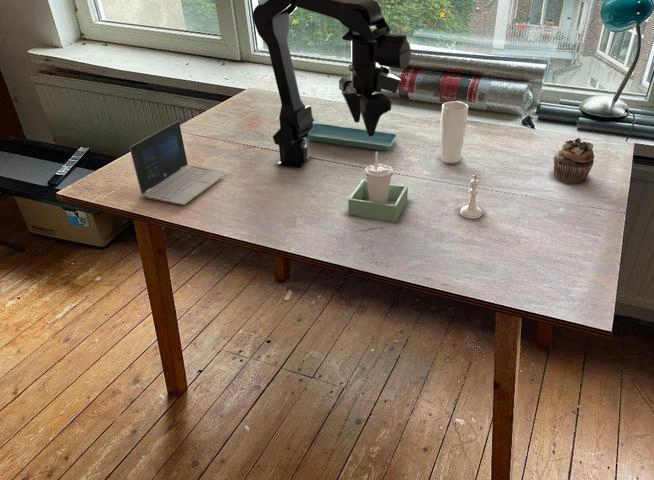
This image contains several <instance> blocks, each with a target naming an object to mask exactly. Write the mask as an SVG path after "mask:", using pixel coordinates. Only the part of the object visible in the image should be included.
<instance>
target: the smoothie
mask: <svg viewBox="0 0 654 480" xmlns="http://www.w3.org/2000/svg"><path fill="white" fill-rule="evenodd" d="M374 157H375V159H374V164H370V165H368V166H366V167H365V169H364V176H365V177H366V180H367V185H368V193H369V197H368V201H371V202H378V203H384V204H388V201H389V200H388V194H389V188H390V184H391V182H392V177H393V176H394V169H393V167H391V166H390V165H387V164H384V163H383V164H382V163H379V151H378V150H376V151H375V154H374Z"/></svg>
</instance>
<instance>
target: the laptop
mask: <svg viewBox="0 0 654 480" xmlns="http://www.w3.org/2000/svg"><path fill="white" fill-rule="evenodd" d="M129 151H130V156H131V159H132V163H133V168H134V171H135V175H136V178H137V183H138V186H139V190H140V194H141V195H142V198H145V199H150V200H155V201H159V202H160V201H161V202H164V203H170V204H177V205H182V206H185V205H187V204H188V203H189V202H191V201H192V200H193V199H194V198H196V197H197V196H199V195H200V194H201V193H203V192H204V191H205V190H207V189H208V188H210V187H211V186H212V185H214V184H215V183H217V182H218V181H219V180H220V179H221V178H223V177H224V176H226V175H227V174H228V173H227V172H225V171H219V170H215V169H209V168H204V167H199V166H194V165H188V160H187V155H186V154H187V153H186V149H185V145H184V140H183V134H182V129H181V124H180V121H179V120H176V121H174V122H172V123H170V124H169V125H167V126H165V127H164V128H161V129H159V130H158V131H155V132H154V133H152V134H151V135H149V136H147V137H145V138H143V139H141V140H139V141H138V142H136V143H134V144H132V145H130V146H129Z"/></svg>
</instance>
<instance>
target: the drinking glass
mask: <svg viewBox="0 0 654 480" xmlns="http://www.w3.org/2000/svg"><path fill="white" fill-rule="evenodd" d="M468 117H469V105H468V104H467V103H466V102H463V101H457V100H455V101H454V100H453V101H452V100H451V101H446V102H444V103H443V104H442V105H441V112H440V160H441V161H442V162H443V163H446V164H456V163H459V162H460V160H461V157H462V150H463V145H464V139H465V136H466V129H467V124H468Z"/></svg>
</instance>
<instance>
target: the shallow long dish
mask: <svg viewBox="0 0 654 480" xmlns="http://www.w3.org/2000/svg"><path fill="white" fill-rule="evenodd" d="M398 136H399V135H398V134H397V133H392V132H384V131H377V130H375V132H374V135H373V136H369V135H368V133H367V130H366V129H363V128H355V127H348V126H341V125H334V124H327V123H321V122H313V128H312V129H311V131H309V134H308V136H307V137H305V138H304V139H305V140H307V141H312V142H313V141H314V142H319V143H325V144H326V143H327V144H333V145H339V146H340V145H341V146H347V147H354V148H360V149H361V148H363V149H369V150H376V151H382V152H387V151H389V149H390V148H391V147H392V145H393V144H394V143H395V142H396V140H397V138H398Z"/></svg>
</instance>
